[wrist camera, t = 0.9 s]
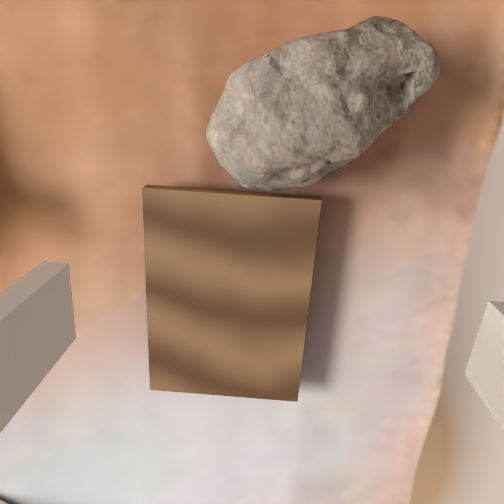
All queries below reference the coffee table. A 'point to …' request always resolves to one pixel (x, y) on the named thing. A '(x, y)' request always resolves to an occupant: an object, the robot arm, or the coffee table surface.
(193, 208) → the stand
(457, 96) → the coffee table surface
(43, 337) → the robot arm
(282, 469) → the coffee table surface
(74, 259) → the coffee table surface
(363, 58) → the stone
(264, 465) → the coffee table surface
